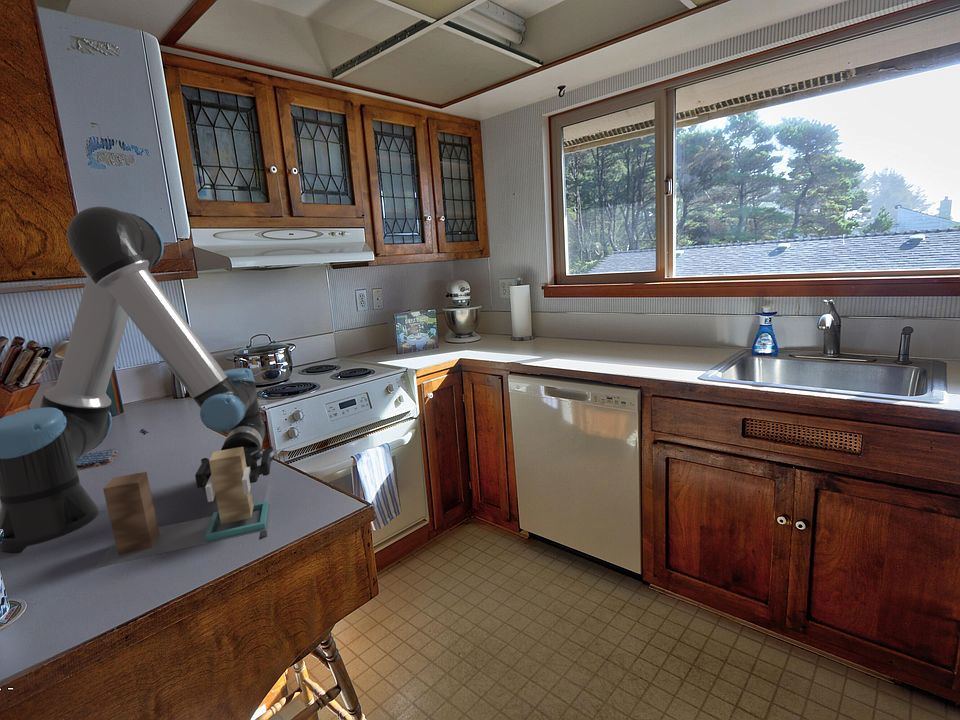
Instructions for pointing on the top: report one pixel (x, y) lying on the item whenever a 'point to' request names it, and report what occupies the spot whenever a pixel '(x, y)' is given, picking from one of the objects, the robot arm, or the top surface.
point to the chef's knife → (144, 431)
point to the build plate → (195, 534)
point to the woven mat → (95, 459)
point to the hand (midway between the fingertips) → (227, 490)
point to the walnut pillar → (131, 512)
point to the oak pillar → (230, 485)
